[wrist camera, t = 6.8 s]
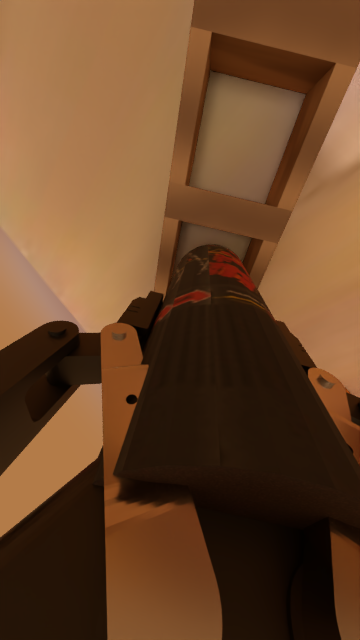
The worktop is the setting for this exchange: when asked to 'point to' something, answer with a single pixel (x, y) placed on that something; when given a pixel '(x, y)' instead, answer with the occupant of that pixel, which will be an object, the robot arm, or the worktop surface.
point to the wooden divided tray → (269, 68)
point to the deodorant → (234, 407)
